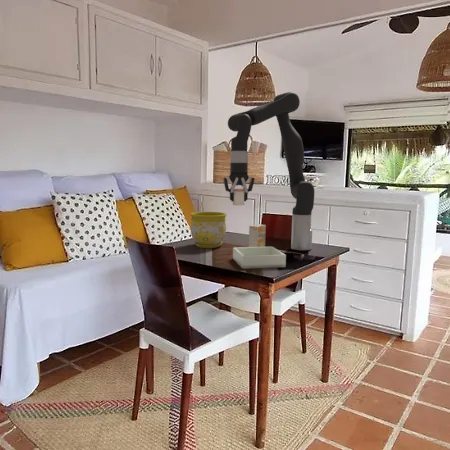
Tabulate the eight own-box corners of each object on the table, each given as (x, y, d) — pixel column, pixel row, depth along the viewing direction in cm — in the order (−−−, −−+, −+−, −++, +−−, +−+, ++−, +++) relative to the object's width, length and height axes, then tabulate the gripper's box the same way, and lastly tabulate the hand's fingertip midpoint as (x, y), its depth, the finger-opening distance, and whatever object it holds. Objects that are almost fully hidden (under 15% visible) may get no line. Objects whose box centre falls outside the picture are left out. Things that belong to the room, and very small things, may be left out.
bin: (272, 257, 191) (272, 246, 190) (285, 267, 173) (285, 255, 173) (232, 258, 187) (233, 247, 187) (242, 268, 170) (242, 256, 169)
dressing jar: (242, 204, 189) (243, 188, 188) (245, 205, 185) (245, 189, 184) (231, 204, 188) (231, 188, 187) (234, 205, 184) (234, 189, 183)
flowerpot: (229, 248, 210) (230, 215, 207) (193, 249, 206) (193, 216, 203) (221, 241, 227) (221, 211, 225) (187, 243, 223) (187, 211, 220)
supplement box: (257, 254, 196) (258, 226, 194) (248, 253, 199) (248, 225, 197) (265, 251, 203) (266, 224, 201) (256, 250, 206) (257, 223, 204)
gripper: (253, 162, 189) (252, 200, 191) (221, 161, 186) (220, 200, 189) (257, 162, 181) (256, 201, 184) (224, 161, 179) (223, 202, 181)
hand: (238, 201), depth 186 cm, fingers closed on dressing jar, 5 cm apart
